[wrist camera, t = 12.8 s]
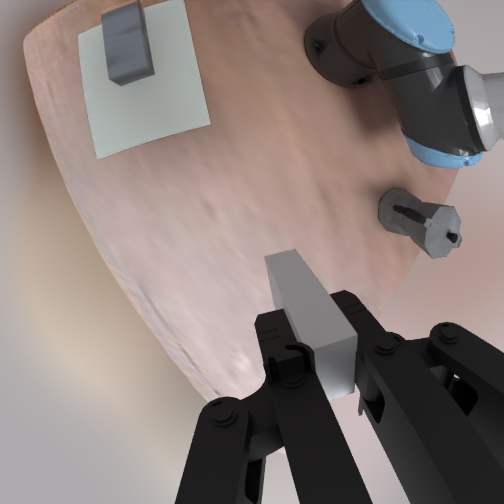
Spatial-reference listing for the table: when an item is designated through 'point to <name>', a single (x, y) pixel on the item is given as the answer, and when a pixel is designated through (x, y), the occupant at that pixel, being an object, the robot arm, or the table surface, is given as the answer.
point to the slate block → (126, 42)
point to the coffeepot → (421, 222)
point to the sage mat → (144, 85)
